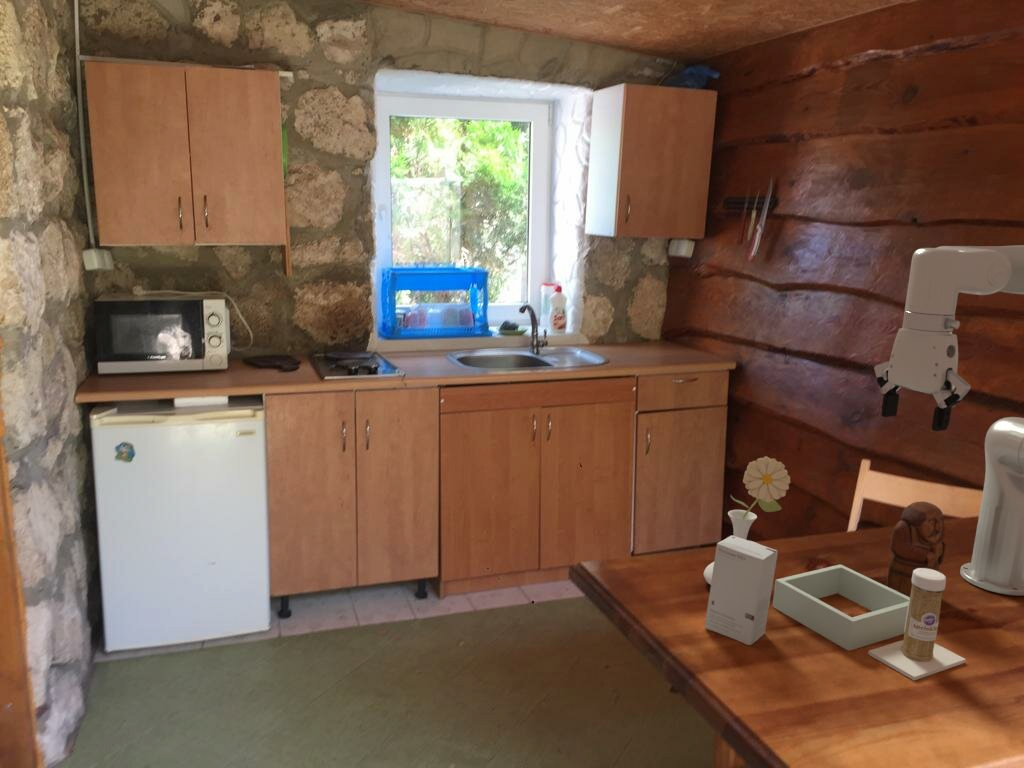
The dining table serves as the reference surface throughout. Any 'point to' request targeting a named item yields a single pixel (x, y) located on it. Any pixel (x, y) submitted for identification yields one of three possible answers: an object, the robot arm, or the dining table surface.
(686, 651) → the dining table surface
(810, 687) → the dining table surface
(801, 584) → the open box
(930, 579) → the sprinkles bottle
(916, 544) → the wooden figurine
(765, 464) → the flower in vase
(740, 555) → the skincare box
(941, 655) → the mat
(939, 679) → the dining table surface
